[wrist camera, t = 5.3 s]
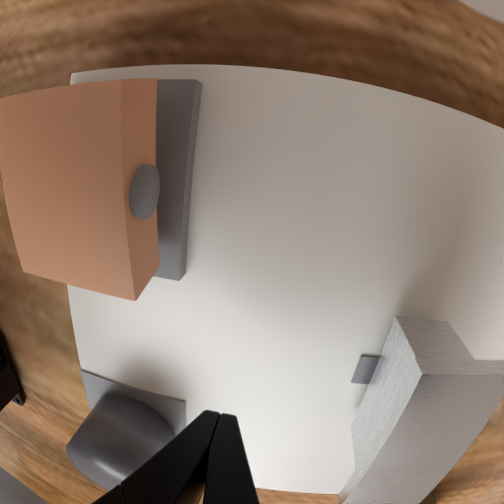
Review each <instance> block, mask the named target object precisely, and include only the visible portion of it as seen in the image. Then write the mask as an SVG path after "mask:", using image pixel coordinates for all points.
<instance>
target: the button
mask: <svg viewBox="0 0 504 504" xmlns="http://www.w3.org/2000/svg"><path fill="white" fill-rule="evenodd" d="M173 438H174V435H173V433H172V431H171V429H170V427H169V426H168V424H167V423H166V422H165V421H164V420H163V419H162V418H161V417H160V416H159V415H158V414H157V413H155V412H154V411H153V410H151V409H150V408H148V407H147V406H145V405H143V404H141V403H139V402H137V401H135V400H132V399H130V398H126V397H122V396H115V395H110V396H105V397H103V398H101V399H100V400H99V401H98V402H97V404H96V405H95V406H94V408H93V409H92V411H91V412H90V413H89V415H88V416H87V418H86V419H85V420H84V422H83V423H82V425H81V426H80V427H79V429H78V430H77V432H76V433H75V434H74V436H73V437H72V439H71V440H70V442H69V443H68V444H67V447H66V451H67V454H68V456H69V458H70V460H71V461H72V463H73V464H74V465H75V466H76V467H77V468H78V469H79V470H80V471H81V472H82V473H83V474H84V475H85V476H87V477H88V478H89V479H91V480H92V481H93V482H95V483H96V484H98V485H100V486H101V487H103V488H105V489H107V490H109V491H110V490H111V489H113V488H114V487H115V486H116V485H118V484H120V483H121V482H122V481H123V480H124V479H125V478H127V477H128V476H129V475H130V474H132V473H133V472H134V471H135V470H136V469H138V468H139V467H140V466H141V465H143V464H144V463H145V462H146V461H147V460H149V459H150V458H151V457H152V456H153V455H154V454H156V453H157V452H158V451H159V450H160V449H161V448H163V447H164V446H165V445H166V444H167V443H168V442H169V441H171V440H172V439H173Z"/></svg>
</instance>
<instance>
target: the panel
mask: <svg viewBox="0 0 504 504" xmlns="http://www.w3.org/2000/svg"><path fill="white" fill-rule="evenodd" d="M137 78H158V80H157V102H156V168H157V170H158V172H159V177H160V192H159V198H158V202H157V229H158V247H159V262H160V267H159V268H158V270H157V271H156V273H155V274H154V276H153V277H152V278H151V280H150V281H149V283H148V284H147V286H146V287H145V289H144V290H143V292H142V293H141V294H140V296H139V297H138V299H137V300H136V301H132V300H127V299H123V298H119V297H115V296H111V295H106V294H102V293H98V292H94V291H91V290H87V289H83V288H79V287H75V286H71V285H68V284H67V287H68V295H69V303H70V310H71V317H72V323H73V329H74V335H75V340H76V345H77V350H78V355H79V360H80V365H81V375H82V379H83V383H84V387H85V391H86V395H87V399H88V402H89V406H90V410H91V411H92V409H93V408H94V406H95V405H96V404H97V402H98V401H99V400H100V399H101V398H103V397H105V396H110V395H115V396H122V397H126V398H130V399H132V400H135V401H137V402H139V403H141V404H143V405H145V406H147V407H148V408H150V409H151V410H153V411H154V412H155V413H157V414H158V415H159V416H160V417H161V418H162V419H163V420H164V421H165V422H166V423H167V424H168V426H169V427H170V429H171V431H172V433H173V435H174V437H175V436H176V435H177V434H179V433H180V432H181V431H182V430H183V429H184V428H185V427H186V426H187V425H189V424H190V423H191V422H192V421H193V420H194V419H195V418H196V417H197V416H198V415H200V414H201V413H202V412H203V411H204V410H212V411H217V412H219V413H220V415H221V413H227V414H232V415H236V417H237V419H238V423H239V427H240V431H241V435H242V439H243V443H244V447H245V451H246V455H247V459H248V463H249V466H250V470H251V474H252V477H253V481H254V485H255V487H257V488H264V489H272V490H281V491H292V492H305V493H323V494H339V493H340V492H341V490H342V489H343V487H344V486H345V484H346V483H347V481H348V480H349V478H350V477H351V475H352V474H353V472H354V471H355V460H354V451H353V443H352V435H351V428H350V426H351V423H352V421H353V419H354V417H355V415H356V413H357V411H358V408H359V406H360V404H361V402H362V399H363V397H364V395H365V393H366V390H367V388H368V385H369V383H370V381H371V378H372V376H373V373H374V371H375V368H376V366H377V363H378V361H379V358H380V355H381V353H382V350H383V347H384V345H385V342H386V339H387V336H388V334H389V331H390V328H391V325H392V322H393V319H394V316H403V317H412V318H421V319H431V320H441V321H447V322H448V323H449V324H450V326H451V327H452V328H453V330H454V331H455V332H456V334H457V335H458V336H459V338H460V339H461V340H462V342H463V343H464V345H465V346H466V347H467V349H468V350H469V352H470V353H471V354H472V356H473V357H474V359H475V360H504V129H503V128H501V127H498V126H496V125H494V124H491V123H489V122H487V121H484V120H482V119H479V118H477V117H474V116H472V115H469V114H466V113H464V112H461V111H458V110H455V109H453V108H450V107H447V106H444V105H441V104H438V103H435V102H432V101H429V100H425V99H422V98H419V97H416V96H412V95H409V94H405V93H401V92H398V91H394V90H390V89H386V88H382V87H378V86H374V85H369V84H365V83H360V82H356V81H351V80H346V79H341V78H335V77H330V76H324V75H318V74H311V73H304V72H297V71H289V70H281V69H272V68H261V67H249V66H233V65H205V64H175V65H147V66H132V67H120V68H110V69H101V70H92V71H85V72H78V73H72V74H71V80H70V85H72V84H80V83H88V82H98V81H108V80H121V79H137Z"/></svg>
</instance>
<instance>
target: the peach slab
mask: <svg viewBox="0 0 504 504" xmlns="http://www.w3.org/2000/svg"><path fill="white" fill-rule="evenodd" d="M157 80H158V78H137V79H121V80H108V81H98V82H88V83H80V84H72V85H65V86H58V87H52V88H46V89H40V90H35V91H30V92H25V93H20V94H16V95H11V96H7V97H3V98H0V173H1V179H2V185H3V191H4V197H5V202H6V207H7V212H8V216H9V221H10V225H11V230H12V234H13V238H14V242H15V245H16V249H17V253H18V256H19V260H20V263H21V267H22V270H23V272H26V273H29V274H32V275H36V276H39V277H43V278H46V279H50V280H53V281H57V282H60V283H64V284H68V285H71V286H75V287H79V288H83V289H87V290H91V291H94V292H98V293H102V294H106V295H111V296H115V297H119V298H123V299H127V300H132V301H136V300H137V299H138V297H139V296H140V294H141V293H142V292H143V290H144V289H145V287H146V286H147V284H148V283H149V281H150V280H151V278H152V277H153V276H154V274H155V273H156V271H157V270H158V268H159V267H160V262H159V247H158V229H157V202H158V198H159V192H160V177H159V172H158V170H157V168H156V102H157Z"/></svg>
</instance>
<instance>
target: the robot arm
mask: <svg viewBox="0 0 504 504" xmlns="http://www.w3.org/2000/svg"><path fill="white" fill-rule="evenodd" d="M11 400H12V401H14V402H15V403H17V404H19V405H21V406H23V405H24V404H25V402H26V401H25V398H24V396H23V393H22V391H21V388H20V385H19V383H18V380H17V377H16V375H15V372H14V369H13V366H12V363H11V360H10V357H9V354H8V351H7V348H6V344H5V341H4V338H3V336H2V334H1V333H0V411H1V410H2V409H3V408H4V407H5V406H6V405H7V404H8V403H9V402H10V401H11ZM203 492H204V497H203V504H260V503H259V499H258V496H257V492H256V488H255V485H254V481H253V477H252V474H251V470H250V466H249V463H248V459H247V455H246V451H245V447H244V443H243V439H242V435H241V431H240V427H239V423H238V419H237V417H236V415H232V414H227V413H221V415H220V413H219V412H217V411H212V410H204V411H203V412H202V413H201V414H200V415H198V416H197V417H196V418H195V419H194V420H193V421H192V422H191V423H190V424H189V425H187V426H186V427H185V428H184V429H183V430H182V431H181V432H180V433H179V434H177V435H176V436H175V437H174V438H173V439H172V440H171V441H169V442H168V443H167V444H166V445H165V446H164V447H163V448H161V449H160V450H159V451H158V452H157V453H156V454H154V455H153V456H152V457H151V458H150V459H149V460H147V461H146V462H145V463H144V464H143V465H141V466H140V467H139V468H138V469H136V470H135V471H134V472H133V473H132V474H130V475H129V476H128V477H127V478H125V479H124V480H123V481H122V482H121V483H120V484H118V485H116V486H115V487H114V488H113V489H111V490H110V491H109V492H107V493H106V494H105V495H103V496H102V497H100V498H99V499H98V500H96V501H95V502H93V503H92V504H199V502H200V499H201V497H202V495H203Z"/></svg>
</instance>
